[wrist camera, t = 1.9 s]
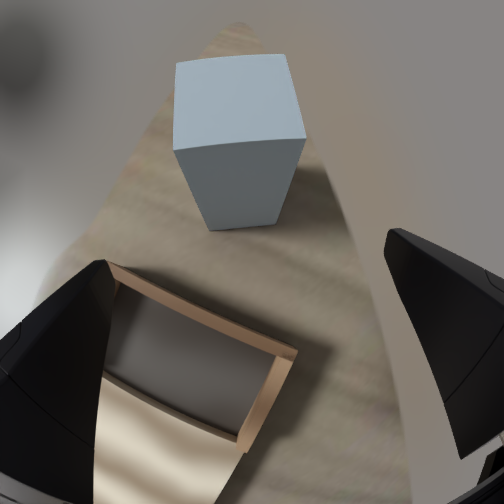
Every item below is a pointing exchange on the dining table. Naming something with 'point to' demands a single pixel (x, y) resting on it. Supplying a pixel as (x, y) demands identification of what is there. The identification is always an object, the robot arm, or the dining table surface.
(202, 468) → the box
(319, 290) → the dining table surface
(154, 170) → the dining table surface
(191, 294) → the dining table surface
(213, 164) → the block
